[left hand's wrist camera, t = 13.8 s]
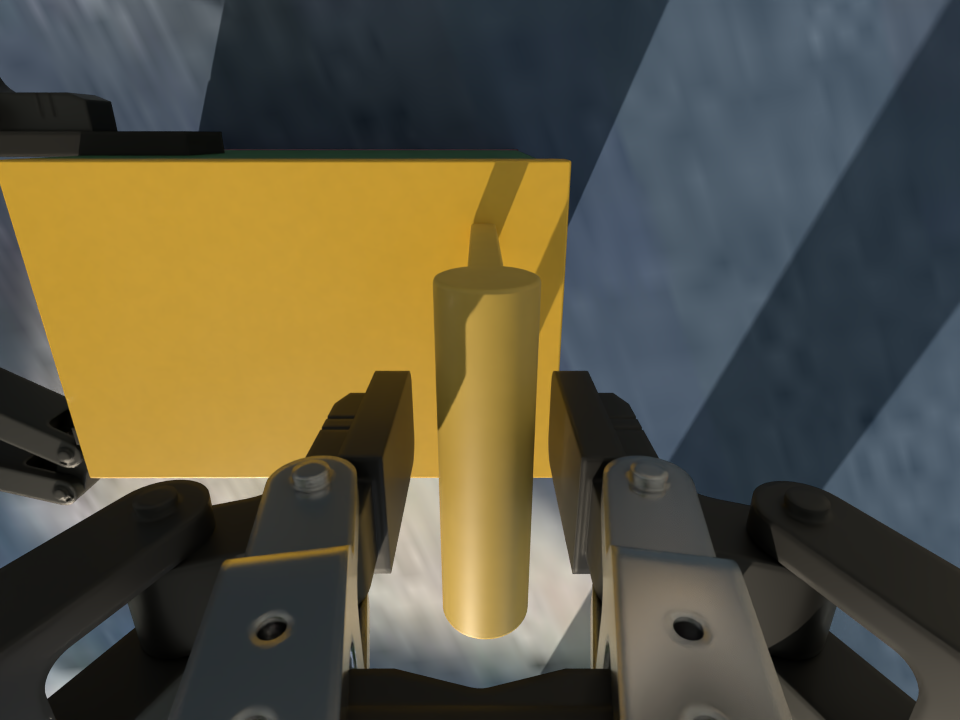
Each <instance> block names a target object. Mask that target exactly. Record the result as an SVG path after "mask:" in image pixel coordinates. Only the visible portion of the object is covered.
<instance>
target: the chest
mask: <svg viewBox="0 0 960 720" xmlns="http://www.w3.org/2000/svg"><path fill="white" fill-rule="evenodd" d="M224 152H225V153H220V154H206V155H193V156H65V157H47V158H30V159H536V158H534V157H531V156H529V155H527V154H524V153H522V152H519V151H518V150H517V149H224Z"/></svg>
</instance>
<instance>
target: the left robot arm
mask: <svg viewBox="0 0 960 720" xmlns="http://www.w3.org/2000/svg"><path fill="white" fill-rule="evenodd" d="M548 453H549V464H550V469H551V473H552V478H553V483H554V488H555V492H556V497H557V502H558V507H559V511H560V516H561V521H562V526H563V530H564V535H565V540H566V545H567V549H568V554H569V559H570V563H571V568H572V573H573V574H590V575H591V578H592V582H593V586H592V596H591V607H590V631H591V669H562V670H558V671H554V672H550V673H546V674H542V675H538V676H534V677H530V678H526V679H522V680H518V681H513V682H509V683H505V684H501V685H497V686H493V687H489V688H471V687H467V686H463V685H459V684H455V683H451V682H447V681H442V680H438V679H434V678H430V677H426V676H422V675H418V674H414V673H410V672H406V671H402V670H398V669H369V630H370V607H369V596H368V592H369V589H370V586H371V582H372V578H373V574H374V573H391V571H392V566H393V561H394V556H395V551H396V546H397V541H398V536H399V532H400V527H401V522H402V517H403V512H404V507H405V502H406V497H407V492H408V487H409V482H410V477H411V472H412V467H413V461H414V418H413V398H412V380H411V373H410V371H375V372H374V374H373V377H372V379H371V381H370V383H369V386H368V388H367V390H366V392H365V393H349V394H348V395H346V396H345V397H343V398H342V399H340V400H339V401H338V402H336V403H335V404H334V405H333V407H332V409H331V411H330V413H329V415H328V416H327V419H326V420H325V422H324V424H323V426H322V430H320V431H319V433H318V435H317V437H316V439H315V440H314V442H313V444H312V446H311V448H310V450H309V451H308V453H307V455H306V457H305V458H301V459H298V460H295V461H292V462H290V463H287V464H285V465H284V466H282V467H280V468H279V469H277V470H276V471H275V472H274V473H272V474H271V476H270V477H269V478H268V480H267V482H266V485H265V488H264V491H263V495H259V496H256V497H252V498H248V499H243V500H238V501H233V502H228V503H222V504H217V505H212V504H211V499H210V494H209V491H208V489H207V488H206V487H205V486H204V485H203V484H201V483H198V482H195V481H191V480H170V481H164V482H159V483H155V484H151V485H148V486H145V487H142V488H140V489H137V490H135V491H133V492H131V493H129V494H127V495H125V496H124V497H122V498H120V499H118V500H117V501H115V502H113V503H112V504H110V505H108V506H106V507H105V508H103V509H101V510H100V511H98V512H96V513H94V514H93V515H91V516H89V517H88V518H86V519H84V520H83V521H81V522H79V523H77V524H76V525H74V526H72V527H71V528H69V529H67V530H65V531H64V532H62V533H60V534H59V535H57V536H55V537H54V538H52V539H50V540H48V541H47V542H45V543H43V544H42V545H40V546H38V547H36V548H35V549H33V550H31V551H30V552H28V553H26V554H24V555H23V556H21V557H19V558H18V559H16V560H14V561H13V562H11V563H9V564H7V565H6V566H4V567H2V568H1V569H0V720H960V569H959V568H958V567H956V566H954V565H953V564H951V563H949V562H947V561H946V560H944V559H942V558H941V557H939V556H937V555H936V554H934V553H932V552H930V551H929V550H927V549H925V548H924V547H922V546H920V545H918V544H917V543H915V542H913V541H912V540H910V539H908V538H907V537H905V536H903V535H901V534H900V533H898V532H896V531H895V530H893V529H891V528H889V527H888V526H886V525H884V524H883V523H881V522H879V521H877V520H876V519H874V518H872V517H871V516H869V515H867V514H866V513H864V512H862V511H860V510H859V509H857V508H855V507H854V506H852V505H850V504H848V503H847V502H845V501H843V500H842V499H840V498H838V497H836V496H835V495H833V494H831V493H829V492H826V491H824V490H822V489H819V488H816V487H813V486H810V485H806V484H802V483H797V482H789V481H774V482H768V483H764V484H762V485H760V486H758V487H757V488H756V489H755V491H754V492H753V496H752V501H751V505H745V504H740V503H735V502H729V501H724V500H719V499H715V498H710V497H707V496H704V495H700V494H698V493H697V491H696V488H695V485H694V482H693V480H692V478H691V477H690V476H689V474H688V473H686V472H685V471H684V470H683V469H681V468H680V467H678V466H676V465H675V464H673V463H670V462H668V461H665V460H662V459H659V458H658V456H657V454H656V452H655V450H654V449H653V447H652V445H651V443H650V441H649V440H648V438H647V436H646V434H645V432H644V431H643V430H642V427H641V425H640V423H639V421H638V420H637V419H636V416H635V414H634V412H633V411H632V409H631V407H630V405H629V404H628V403H627V402H625V401H624V400H622V399H621V398H619V397H618V396H617V395H615V394H614V393H598V392H597V390H596V388H595V385H594V383H593V381H592V379H591V377H590V374H589V372H588V371H553V373H552V379H551V394H550V414H549V433H548ZM127 603H128V606H129V609H130V612H131V615H132V619H133V622H134V625H135V628H134V629H133V630H132V631H130V632H129V633H128V634H127V635H125V636H124V637H123V638H122V639H120V640H119V641H118V642H117V643H116V644H114V645H113V646H112V647H111V648H109V649H108V650H107V651H106V652H105V653H103V654H102V655H101V656H100V657H98V658H97V659H96V660H95V661H93V662H92V663H91V664H90V665H89V666H87V667H86V668H85V669H84V670H82V671H81V672H80V673H79V674H77V675H76V676H75V677H74V678H73V679H71V680H70V681H69V682H68V683H66V684H65V685H64V686H63V687H61V688H60V689H59V690H58V691H57V692H55V693H54V694H53V695H52V696H50V697H49V698H48V699H47V697H46V694H45V682H46V679H47V676H48V673H49V671H50V669H51V668H52V666H53V665H54V663H55V662H56V660H57V659H58V658H59V657H60V656H61V655H62V654H63V653H64V652H65V651H66V650H67V649H68V648H69V647H71V646H72V645H73V644H74V643H76V642H77V641H78V640H80V639H81V638H82V637H84V636H85V635H86V634H88V633H89V632H90V631H91V630H93V629H94V628H95V627H97V626H98V625H99V624H101V623H102V622H103V621H105V620H106V619H107V618H109V617H110V616H111V615H112V614H114V613H115V612H116V611H118V610H119V609H120V608H122V607H123V606H124V605H126V604H127ZM836 607H838V608H840V609H841V610H842V611H844V612H845V613H846V614H848V615H849V616H850V617H851V618H853V619H854V620H855V621H857V622H858V623H859V624H861V625H862V626H863V627H865V628H866V629H867V630H869V631H870V632H871V633H872V634H874V635H875V636H876V637H878V638H879V639H880V640H882V641H883V642H884V643H886V644H887V645H888V646H890V647H891V648H892V649H893V650H895V651H896V652H897V653H898V654H899V655H900V656H901V657H902V658H903V659H904V660H905V661H906V662H907V664H908V665H909V666H910V668H911V670H912V671H913V673H914V675H915V677H916V680H917V683H918V687H919V695H918V699H917V701H915V700H913V699H912V698H911V697H910V696H908V695H907V694H906V693H905V692H903V691H902V690H901V689H900V688H899V687H897V686H896V685H895V684H894V683H892V682H891V681H890V680H889V679H887V678H886V677H885V676H884V675H883V674H881V673H880V672H879V671H878V670H876V669H875V668H874V667H873V666H871V665H870V664H869V663H868V662H867V661H865V660H864V659H863V658H862V657H860V656H859V655H858V654H857V653H856V652H854V651H853V650H852V649H851V648H849V647H848V646H847V645H846V644H844V643H843V642H842V641H841V640H840V639H838V638H837V637H836V636H835V635H833V634H832V633H831V632H830V631H829V629H830V626H831V623H832V619H833V616H834V613H835V610H836Z"/></svg>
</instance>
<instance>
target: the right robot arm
mask: <svg viewBox="0 0 960 720" xmlns="http://www.w3.org/2000/svg"><path fill="white" fill-rule="evenodd" d="M220 153H225V152H224V145H223V139H222V133H221V132H193V131H117V127H116V122H115V118H114V113H113V109H112V104H111V102H110V101H108V100H105V99H103V98H100V97H98V96H95V95H86V94H76V93H16V92H14V91H13V90H11V89H10V88H9V87H8V86H7V85H5V83H4V82H3V81H2V79H1V78H0V157H65V156H193V155H206V154H220ZM99 479H100V478H90V475H89V472H88V469H87V466H86V462H85V459H84V456H83V453H82V449H81V446H80V443H79V440H78V436H77V433H76V430H75V426H74V423H73V420H72V417H71V413H70V410H69V407H68V404H67V400H66V397H65V396H63V395H61V394H58V393H56V392H54V391H52V390H49V389H47V388H45V387H43V386H40V385H38V384H36V383H34V382H32V381H29V380H27V379H25V378H23V377H20V376H18V375H16V374H14V373H12V372H9V371H7V370H5V369H3V368H0V491H3V492H7V493H12V494H16V495H21V496H25V497H30V498H34V499H39V500H43V501H47V502H52V503H56V504H61V505H69V504H72V503H74V502H75V501H76V500H77V499H78V498H79V497H80V496H82V495H83V494H84V493H85V492H86V491H87V490H88V489H89V488H91V487H92V486H93V485H94V484H95V483H96V482H97V481H98V480H99Z"/></svg>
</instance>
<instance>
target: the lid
mask: <svg viewBox="0 0 960 720" xmlns="http://www.w3.org/2000/svg"><path fill="white" fill-rule="evenodd" d="M570 176H571V161H570V160H566V159H8V160H0V185H1V188H2V191H3V195H4V198H5V201H6V205H7V208H8V211H9V214H10V218H11V221H12V224H13V227H14V231H15V234H16V237H17V240H18V244H19V247H20V250H21V253H22V257H23V260H24V263H25V267H26V270H27V273H28V276H29V280H30V283H31V286H32V289H33V293H34V296H35V299H36V302H37V306H38V309H39V312H40V315H41V319H42V322H43V325H44V329H45V332H46V335H47V338H48V342H49V345H50V348H51V351H52V355H53V358H54V361H55V364H56V368H57V371H58V374H59V378H60V381H61V384H62V387H63V391H64V394H65V397H66V400H67V404H68V407H69V410H70V413H71V417H72V420H73V423H74V426H75V430H76V433H77V436H78V440H79V443H80V446H81V449H82V453H83V456H84V459H85V462H86V466H87V469H88V472H89V475H90V478H269V477H270V476H271V474H272V473H274V472H275V471H276V470H277V469H279V468H280V467H282V466H284V465H285V464H287V463H290V462H292V461H295V460H298V459H301V458H305V457H306V455H307V453H308V451H309V450H310V448H311V446H312V444H313V442H314V440H315V439H316V437H317V435H318V433H319V431H320V430H322V426H323V424H324V422H325V420H326V419H327V416H328V415H329V413H330V411H331V409H332V407H333V405H334V404H335V403H336V402H338V401H339V400H340V399H342V398H343V397H345V396H346V395H348V394H349V393H365V392H366V390H367V388H368V386H369V383H370V381H371V379H372V377H373V374H374V372H375V371H410V373H411V380H412V398H413V418H414V461H413V467H412V472H411V477H410V478H439V496H440V527H441V558H442V590H443V610H444V613H445V616H446V618H447V620H448V621H449V623H450V624H451V625H452V626H453V627H454V628H455V629H456V630H458V631H459V632H461V633H462V634H464V635H467V636H469V637H473V638H478V639H494V638H499V637H502V636H504V635H507V634H509V633H511V632H512V631H514V630H515V629H516V628H517V627H518V626H519V625H520V624H521V622H522V621H523V619H524V618H525V616H526V613H527V607H528V585H529V561H530V537H531V514H532V490H533V477H552V473H551V469H550V464H549V453H548V433H549V414H550V394H551V379H552V373H553V371H559V366H560V348H561V331H562V314H563V297H564V279H565V262H566V245H567V227H568V210H569V193H570Z"/></svg>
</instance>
